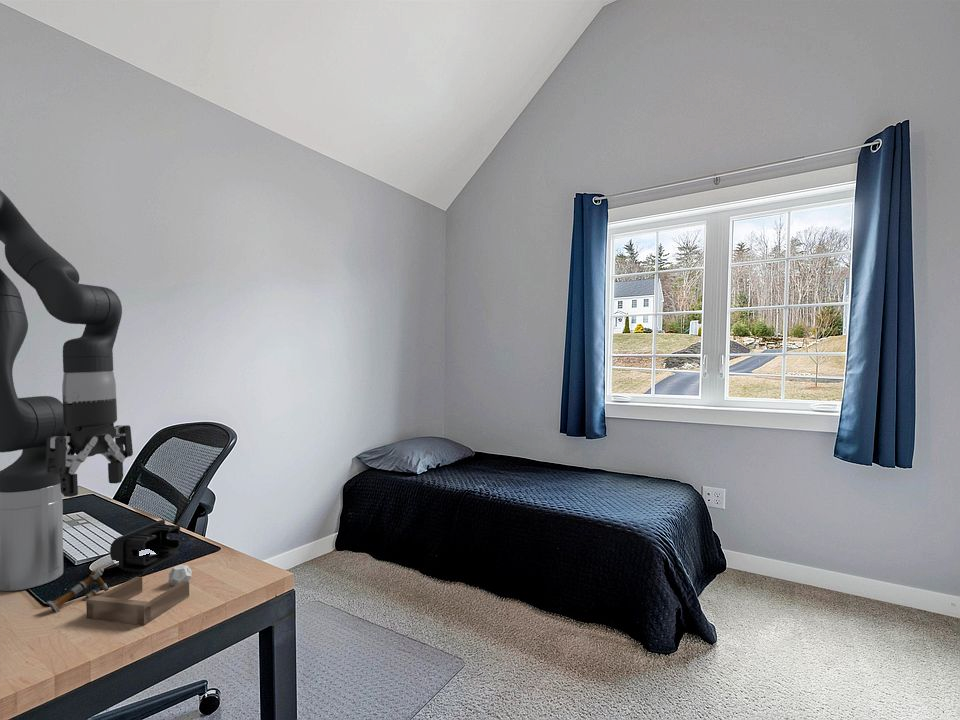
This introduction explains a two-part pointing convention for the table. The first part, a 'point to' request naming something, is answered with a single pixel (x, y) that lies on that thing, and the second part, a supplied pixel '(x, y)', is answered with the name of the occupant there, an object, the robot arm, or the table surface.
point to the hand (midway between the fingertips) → (93, 489)
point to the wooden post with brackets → (93, 576)
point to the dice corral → (133, 603)
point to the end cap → (145, 547)
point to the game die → (179, 574)
